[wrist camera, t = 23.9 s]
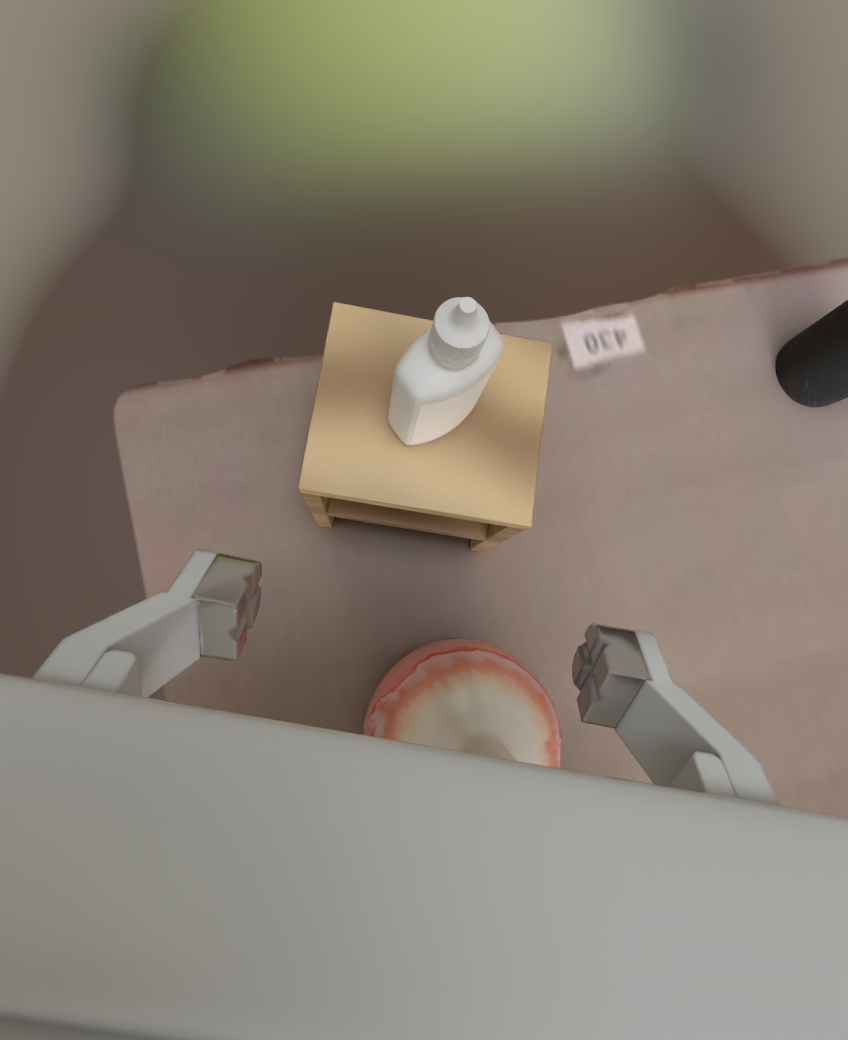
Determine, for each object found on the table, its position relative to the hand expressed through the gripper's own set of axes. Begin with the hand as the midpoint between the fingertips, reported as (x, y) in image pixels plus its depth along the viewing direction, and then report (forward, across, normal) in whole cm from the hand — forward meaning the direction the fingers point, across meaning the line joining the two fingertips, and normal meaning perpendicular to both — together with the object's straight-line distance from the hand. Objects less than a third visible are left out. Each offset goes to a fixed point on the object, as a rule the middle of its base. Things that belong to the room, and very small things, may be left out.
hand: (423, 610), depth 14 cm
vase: (+18, -6, +28) cm, 34 cm away
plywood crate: (+32, 0, +14) cm, 35 cm away
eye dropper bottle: (+22, 0, +4) cm, 23 cm away
